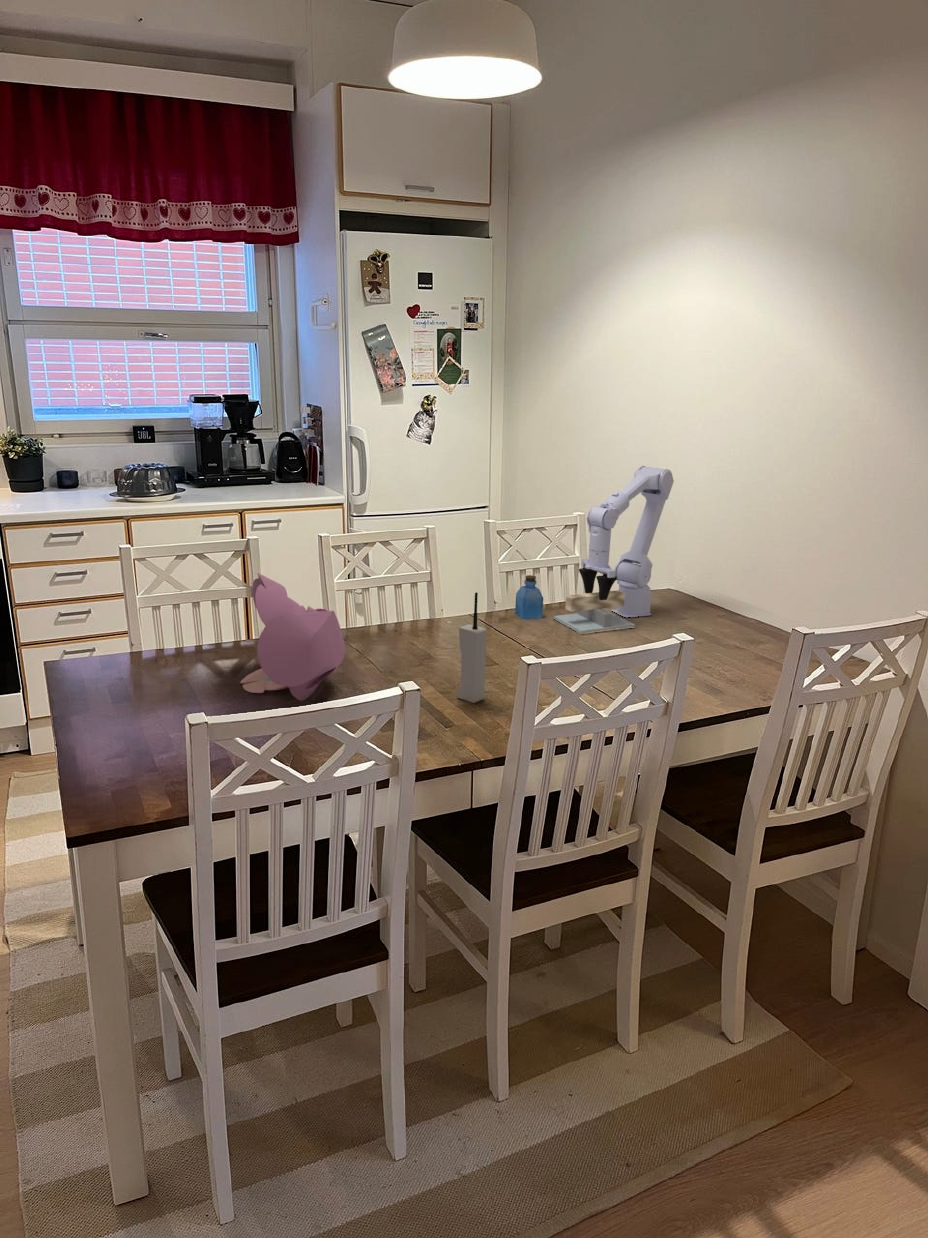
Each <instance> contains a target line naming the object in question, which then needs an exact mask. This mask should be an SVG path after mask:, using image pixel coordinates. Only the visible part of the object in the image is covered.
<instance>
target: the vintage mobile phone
mask: <svg viewBox="0 0 928 1238" xmlns="http://www.w3.org/2000/svg"><path fill="white" fill-rule="evenodd" d="M473 607H474V611H473V619H472V621H473V622H472V623H473V624H470V623H468V624H466V625H463V626H460V627H458V633H459V634H458V635H459V638H458V639H459V650H460V654H461V660H460V661H461V662H460V686H459V688H458V690H457V692H456V697H457V699H460V700H463V701H466V702H469V703H472V704H475V703H477V702H479V701H482V700H484V698H485V684H486V661H487V660H486V659H487V658H486V657H487V637H488V636H487V635H488V631H487V628H484V627H481V626H478V592H476V591H475V592H474V606H473Z"/></svg>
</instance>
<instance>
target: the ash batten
mask: <svg viewBox="0 0 928 1238" xmlns="http://www.w3.org/2000/svg"><path fill="white" fill-rule="evenodd" d="M624 602H625V592H622V591H620V590H619V589H618V590H610V592H609V595H608V598H607V600H600V599H599V591H598V592H592V593H579V594H578V593H576V594H569V595H565V607H564V609H565V610H566V611H569V612H570V613H571V612H578V611H583V610H593V609H608V608H609V609H611V608H617V607H621V606H624Z"/></svg>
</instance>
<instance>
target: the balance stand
mask: <svg viewBox="0 0 928 1238" xmlns="http://www.w3.org/2000/svg"><path fill="white" fill-rule="evenodd" d="M554 619H555V620H557V621H559V622H560V623H562V624H564V625H566V626H568V627H570V628H572V629H574V630H576V631H577V632H580V633H586V632H592V631H600V630H607V629H616V628H626V627H634V626H635V627H636V624H635V623H632V622H631V621H628V620H627V619H626V618H624V617H623V618H622V616H620V615H619V616H618V615H617V614H615V613H613V612H611V611H608V610H606V609H604V608H602V609H593V610H583V611H577V612H576V613H569V614H560V615H559V614H558V615H553V620H554ZM555 620H554V621H555ZM560 623H559V624H560ZM562 624H561V625H562ZM564 625H563V626H564Z"/></svg>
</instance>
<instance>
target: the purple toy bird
mask: <svg viewBox="0 0 928 1238" xmlns="http://www.w3.org/2000/svg"><path fill="white" fill-rule="evenodd" d="M257 576H258V578H255V579H254V580H253V582H252V598H253V602H254V606H255V608H256V609H255V610H256V611H257V615H258V617H259V618H260V620H261V622H262V623H263V624H264V626H265V627H264V628H263V630H262V631H261V632H260V635H259V638H258V643H257V647H256V650H257V658H258V662H259V665H260V667H261V668H259V669H257V670H255V671H253V672H251V673H249V674H247V675H246V676H245V677H244V678H242V679H241V681H240V684H242V688H243V690H245V691H246V692H248V693H252V694H253V693H254V694H255V693H256V694H263V693H265V691H276V690H277V691H278V690H279V691H280V690H283V689H289V691H290V694H291V695H292V696H293V697H294V698H295V699H297V700H298V701H305V700H307V699H309V698H310V697H311V696H312V695H313V694H314V692H315V691H316V689H317V688H318V686H319V685H320V683H321V682H322V681H324V680H325V679H326V678H327V677H328V676H330V674H332V673H333V672H334V671H335V670H336V669H337V668H338V667H339V665H341V664H342V662H343V661H344V658H345V655H346V645H345V640H344V636H343V635H344V634H343V632H342V629H341V626H340V623H339V619H338V617H337V615H336V612H335V610H327V609H325V608H315V609H314V608H313V607H311V606H310V605H308V606H307V609H306V608H305V606H304V605H300V604H299V603H298V602H296V601H295V600H294V599H292V598H290V597H288V592H287V589H286V587H285V586H284V585H283V584H281V583H279V582H277V581H275V580H274V579H271V578H269V577H267V576H265V575H263V574H261V573H259V572H257ZM310 695H311V696H310ZM309 696H310V697H309ZM308 697H309V698H308ZM306 698H307V699H306Z"/></svg>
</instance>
